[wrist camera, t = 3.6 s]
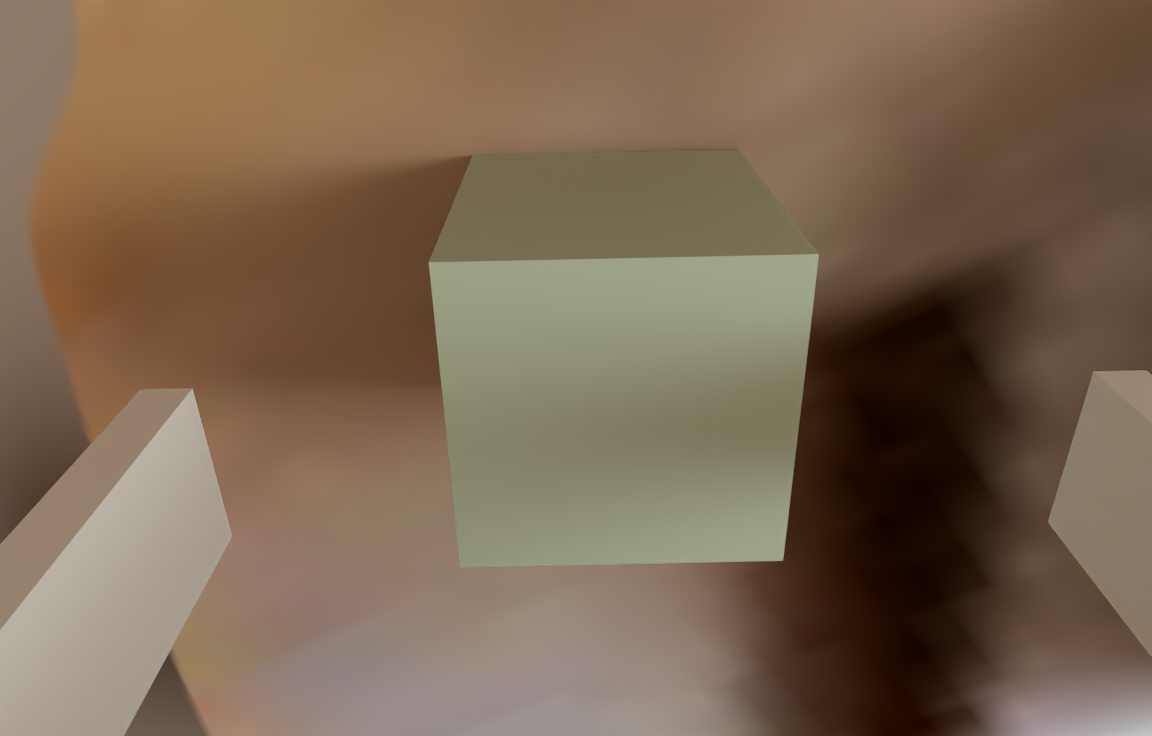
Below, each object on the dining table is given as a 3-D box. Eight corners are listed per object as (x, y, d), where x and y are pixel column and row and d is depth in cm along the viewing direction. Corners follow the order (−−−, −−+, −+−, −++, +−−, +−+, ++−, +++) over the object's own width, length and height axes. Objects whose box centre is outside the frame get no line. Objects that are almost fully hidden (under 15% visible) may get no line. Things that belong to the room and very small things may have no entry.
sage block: (721, 382, 22) (783, 560, 16) (490, 387, 22) (460, 567, 16) (738, 149, 19) (818, 254, 13) (473, 154, 19) (428, 262, 13)
